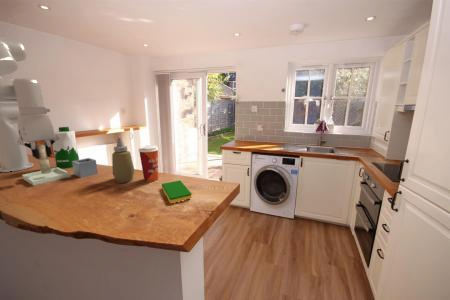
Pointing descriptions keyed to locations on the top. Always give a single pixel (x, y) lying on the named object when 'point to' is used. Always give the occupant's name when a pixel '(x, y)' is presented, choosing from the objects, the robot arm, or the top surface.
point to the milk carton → (65, 148)
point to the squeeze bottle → (122, 163)
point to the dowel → (43, 159)
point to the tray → (46, 176)
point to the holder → (84, 167)
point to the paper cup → (149, 162)
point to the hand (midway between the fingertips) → (42, 157)
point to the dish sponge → (176, 191)
